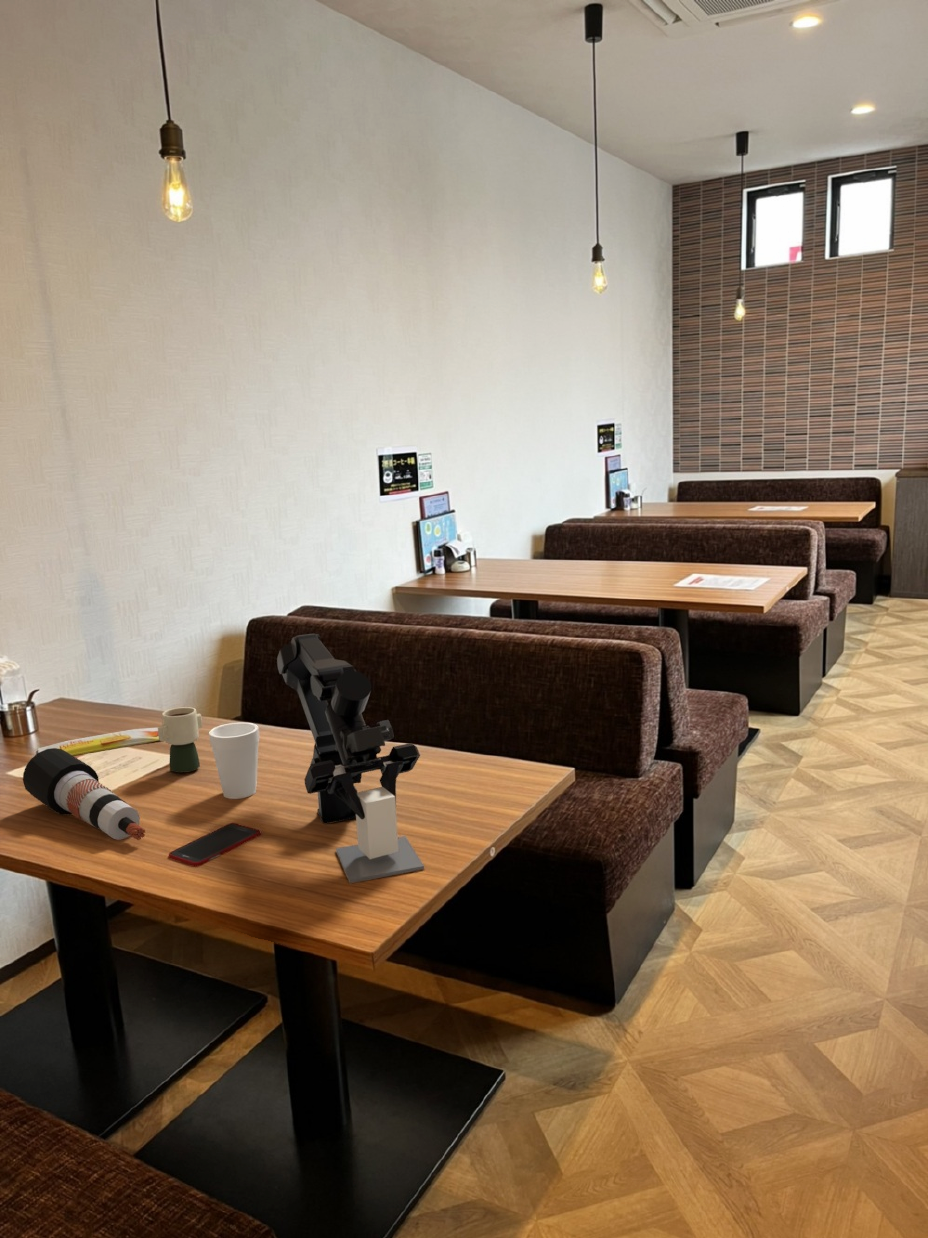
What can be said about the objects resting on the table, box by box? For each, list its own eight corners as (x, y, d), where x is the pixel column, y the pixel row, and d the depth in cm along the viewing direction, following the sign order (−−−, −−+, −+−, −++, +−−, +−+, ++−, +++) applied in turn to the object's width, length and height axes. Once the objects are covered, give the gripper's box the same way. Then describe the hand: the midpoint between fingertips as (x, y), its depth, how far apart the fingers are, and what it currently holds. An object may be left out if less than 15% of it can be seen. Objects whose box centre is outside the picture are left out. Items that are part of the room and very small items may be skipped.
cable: (130, 873, 162) (101, 836, 156) (41, 808, 183) (12, 773, 178) (175, 831, 167) (148, 794, 161) (83, 772, 189) (56, 737, 183)
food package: (38, 756, 207) (36, 743, 215) (39, 766, 207) (37, 753, 216) (165, 733, 218) (158, 722, 227) (166, 743, 219) (159, 731, 228)
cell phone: (263, 835, 165) (262, 830, 165) (197, 869, 153) (196, 863, 153) (232, 826, 169) (232, 821, 169) (166, 859, 157) (166, 853, 157)
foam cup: (273, 791, 184) (267, 728, 182) (232, 805, 178) (226, 741, 175) (246, 780, 191) (240, 719, 188) (206, 794, 184) (199, 731, 182)
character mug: (195, 759, 205) (189, 702, 202) (216, 765, 201) (210, 707, 198) (153, 775, 196) (146, 716, 193) (174, 781, 192) (167, 721, 189)
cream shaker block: (358, 847, 153) (354, 793, 151) (386, 840, 155) (382, 786, 154) (369, 859, 149) (366, 803, 147) (398, 851, 151) (395, 796, 149)
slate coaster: (349, 883, 145) (349, 879, 145) (336, 851, 156) (335, 848, 156) (424, 869, 149) (424, 865, 149) (405, 839, 160) (405, 836, 160)
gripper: (304, 716, 147) (333, 806, 139) (412, 696, 155) (445, 779, 148) (293, 750, 155) (320, 836, 148) (395, 729, 164) (426, 809, 156)
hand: (378, 814), depth 150 cm, fingers closed on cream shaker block, 5 cm apart
